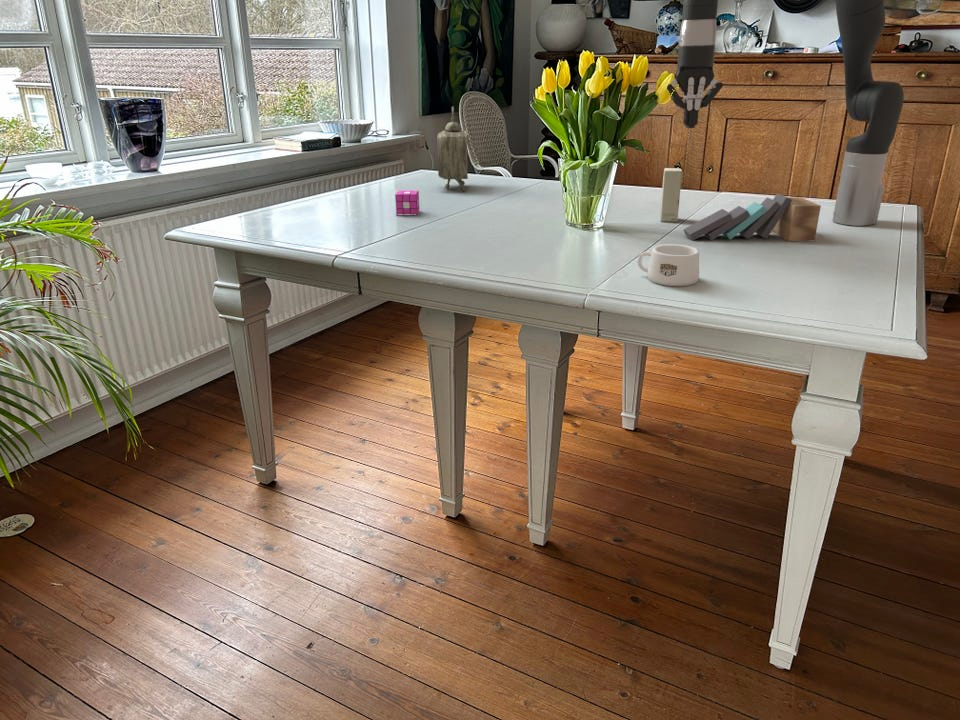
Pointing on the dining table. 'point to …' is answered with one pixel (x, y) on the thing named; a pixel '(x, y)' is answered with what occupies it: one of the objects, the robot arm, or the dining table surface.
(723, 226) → the domino
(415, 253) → the dining table surface
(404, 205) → the puzzle toy
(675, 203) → the box
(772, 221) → the domino
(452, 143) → the tabletop clock
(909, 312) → the dining table surface
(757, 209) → the domino
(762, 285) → the dining table surface
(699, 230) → the domino
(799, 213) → the end block
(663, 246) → the mug
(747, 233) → the domino
